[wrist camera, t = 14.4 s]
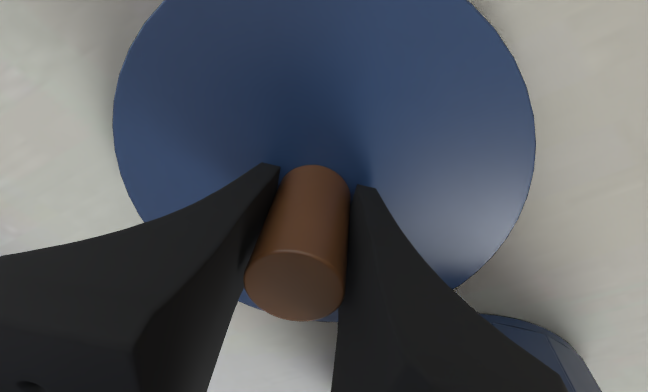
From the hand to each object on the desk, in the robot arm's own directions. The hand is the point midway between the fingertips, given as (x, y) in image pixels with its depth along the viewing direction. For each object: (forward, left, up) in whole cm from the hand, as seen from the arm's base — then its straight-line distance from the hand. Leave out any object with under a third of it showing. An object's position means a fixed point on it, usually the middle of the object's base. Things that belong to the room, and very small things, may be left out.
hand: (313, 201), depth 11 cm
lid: (0, 0, -1) cm, 1 cm away
